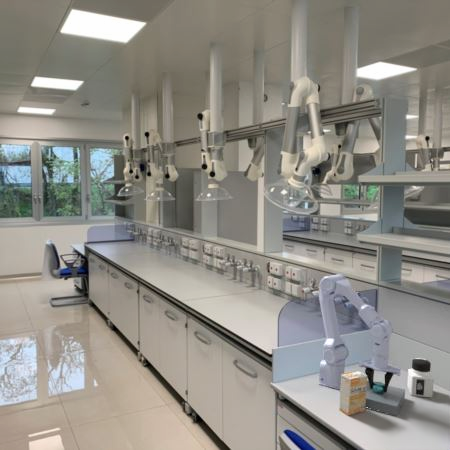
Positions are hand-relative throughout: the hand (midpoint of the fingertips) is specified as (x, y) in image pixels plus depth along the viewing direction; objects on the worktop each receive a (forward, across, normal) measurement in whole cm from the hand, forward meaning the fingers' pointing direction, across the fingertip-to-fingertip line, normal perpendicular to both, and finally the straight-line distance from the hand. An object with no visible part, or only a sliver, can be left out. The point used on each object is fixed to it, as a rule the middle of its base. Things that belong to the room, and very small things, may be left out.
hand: (378, 389), depth 163 cm
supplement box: (+5, -6, -13) cm, 15 cm away
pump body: (+4, 0, 0) cm, 4 cm away
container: (+5, +12, +17) cm, 21 cm away
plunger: (+4, 0, 0) cm, 4 cm away
